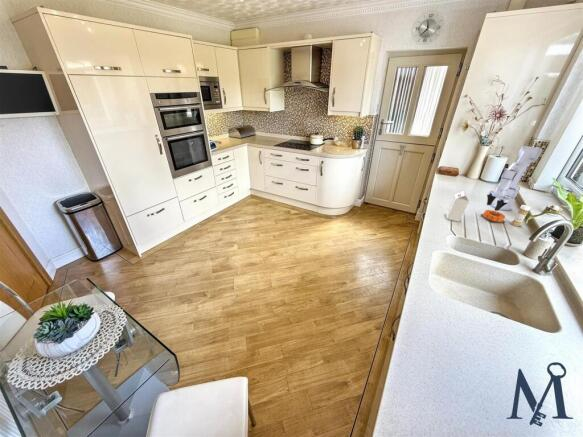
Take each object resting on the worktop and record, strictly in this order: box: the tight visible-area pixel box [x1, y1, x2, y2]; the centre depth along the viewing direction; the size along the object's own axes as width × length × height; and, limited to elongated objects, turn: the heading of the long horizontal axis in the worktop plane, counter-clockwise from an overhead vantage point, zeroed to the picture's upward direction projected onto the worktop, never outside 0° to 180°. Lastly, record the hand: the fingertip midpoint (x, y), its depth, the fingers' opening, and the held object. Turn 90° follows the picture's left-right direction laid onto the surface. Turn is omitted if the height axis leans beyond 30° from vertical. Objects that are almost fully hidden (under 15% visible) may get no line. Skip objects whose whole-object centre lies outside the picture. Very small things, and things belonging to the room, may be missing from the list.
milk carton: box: [445, 189, 470, 223], centre depth 149 cm, size 7×7×19 cm
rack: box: [480, 213, 506, 224], centre depth 154 cm, size 9×9×4 cm
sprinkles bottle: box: [510, 204, 532, 227], centre depth 147 cm, size 5×5×14 cm
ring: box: [482, 209, 506, 222], centre depth 154 cm, size 11×11×3 cm
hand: (492, 207), depth 156 cm, fingers open, 7 cm apart
